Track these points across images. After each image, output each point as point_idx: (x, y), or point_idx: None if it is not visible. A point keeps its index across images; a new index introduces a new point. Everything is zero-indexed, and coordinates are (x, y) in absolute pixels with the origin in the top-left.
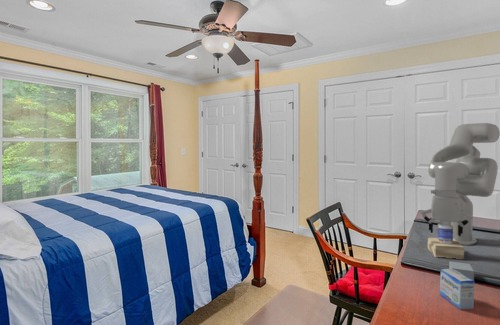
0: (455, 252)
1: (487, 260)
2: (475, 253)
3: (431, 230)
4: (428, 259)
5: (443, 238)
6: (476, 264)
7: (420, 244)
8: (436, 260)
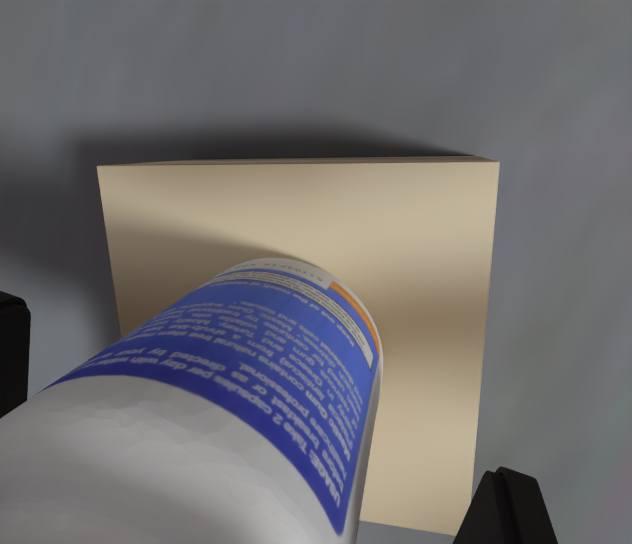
0: (236, 161)
1: (7, 175)
2: (60, 332)
3: (533, 514)
4: (605, 57)
5: (313, 302)
6: (113, 36)
7: None
8: (506, 46)
